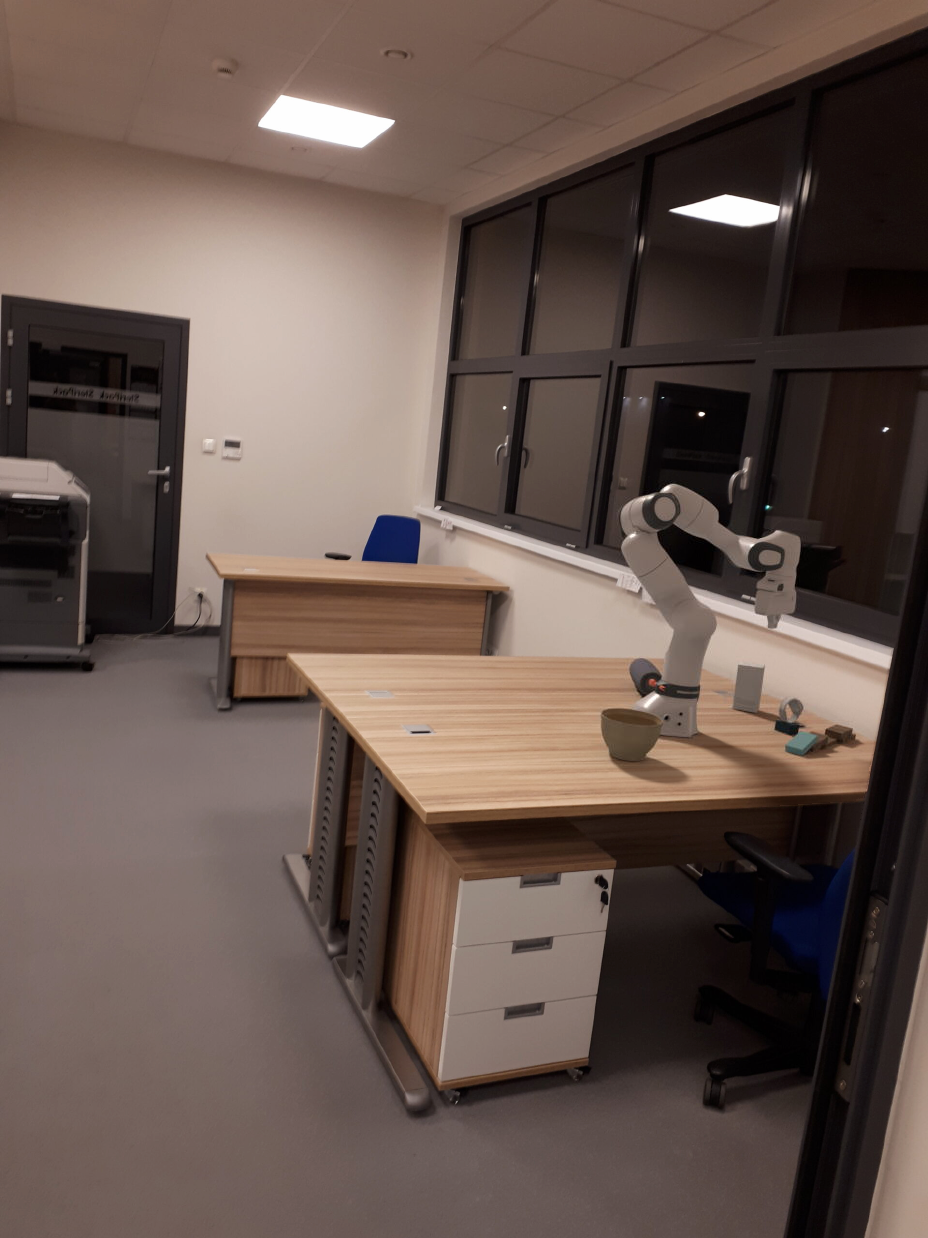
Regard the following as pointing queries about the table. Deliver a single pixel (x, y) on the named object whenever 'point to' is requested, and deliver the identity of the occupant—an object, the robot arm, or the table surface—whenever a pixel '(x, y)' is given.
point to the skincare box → (748, 687)
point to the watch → (788, 724)
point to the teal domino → (801, 743)
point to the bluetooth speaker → (644, 675)
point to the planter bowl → (629, 732)
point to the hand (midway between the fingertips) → (772, 628)
